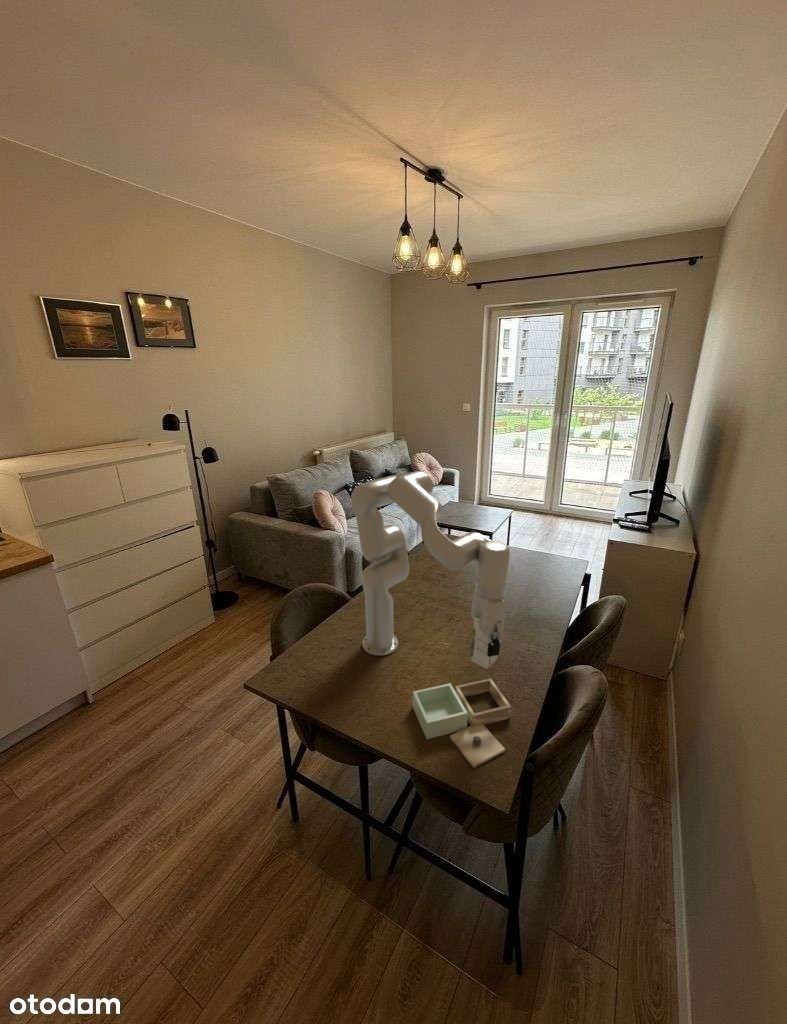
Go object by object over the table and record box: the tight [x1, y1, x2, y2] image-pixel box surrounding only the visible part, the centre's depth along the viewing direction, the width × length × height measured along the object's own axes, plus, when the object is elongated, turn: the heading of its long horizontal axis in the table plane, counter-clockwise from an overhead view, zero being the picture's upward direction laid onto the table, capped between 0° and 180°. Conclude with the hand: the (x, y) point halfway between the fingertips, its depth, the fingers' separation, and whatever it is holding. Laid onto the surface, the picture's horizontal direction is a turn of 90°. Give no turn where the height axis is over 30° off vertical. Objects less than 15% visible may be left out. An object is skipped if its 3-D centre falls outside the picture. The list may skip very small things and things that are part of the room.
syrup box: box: [469, 615, 499, 670], centre depth 112 cm, size 6×6×14 cm
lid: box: [449, 723, 506, 769], centre depth 108 cm, size 10×10×2 cm
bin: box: [412, 682, 468, 740], centre depth 116 cm, size 12×12×6 cm
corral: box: [454, 678, 512, 726], centre depth 119 cm, size 12×12×4 cm
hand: (485, 645), depth 113 cm, fingers closed on syrup box, 7 cm apart
